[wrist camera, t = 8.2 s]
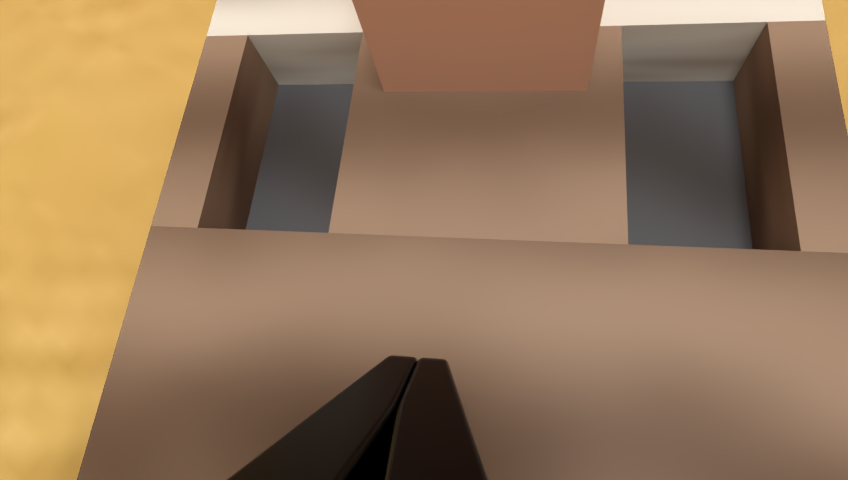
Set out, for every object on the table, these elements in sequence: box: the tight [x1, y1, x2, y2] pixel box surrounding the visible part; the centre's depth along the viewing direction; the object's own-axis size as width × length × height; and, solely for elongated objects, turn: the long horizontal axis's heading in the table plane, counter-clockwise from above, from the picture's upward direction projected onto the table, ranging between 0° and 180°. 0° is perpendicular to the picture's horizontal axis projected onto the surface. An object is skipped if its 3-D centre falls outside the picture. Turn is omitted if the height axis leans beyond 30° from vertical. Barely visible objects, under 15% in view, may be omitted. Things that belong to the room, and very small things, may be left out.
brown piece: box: [77, 0, 848, 480], centre depth 16 cm, size 25×19×6 cm
